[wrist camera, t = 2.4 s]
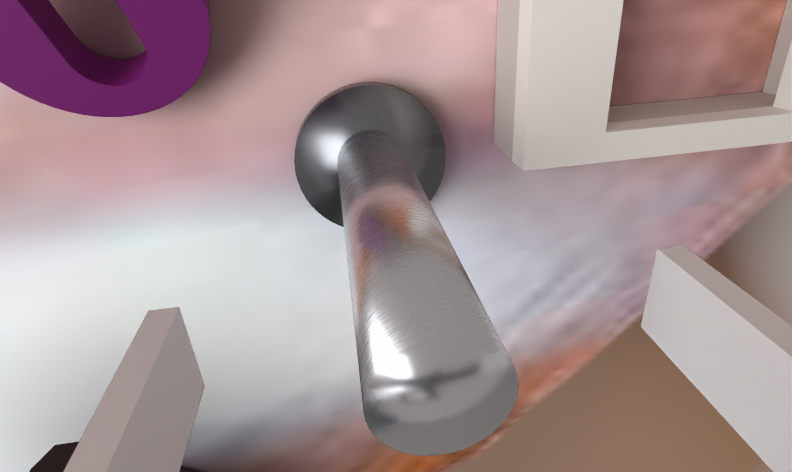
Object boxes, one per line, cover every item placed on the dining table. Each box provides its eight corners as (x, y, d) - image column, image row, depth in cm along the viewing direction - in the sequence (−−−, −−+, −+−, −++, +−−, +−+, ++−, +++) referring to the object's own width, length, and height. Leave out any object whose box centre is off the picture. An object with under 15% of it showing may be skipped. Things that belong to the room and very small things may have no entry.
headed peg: (442, 215, 29) (588, 486, 14) (306, 230, 29) (292, 538, 13) (439, 75, 26) (635, 221, 10) (284, 89, 25) (224, 273, 9)
